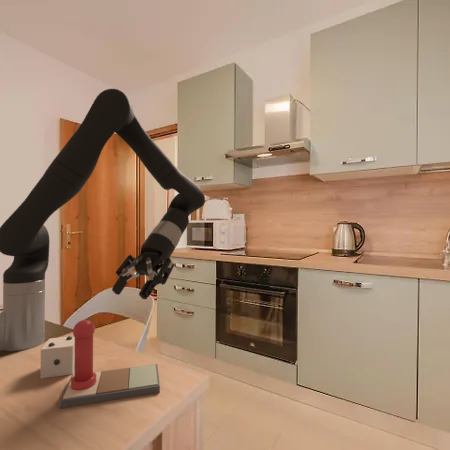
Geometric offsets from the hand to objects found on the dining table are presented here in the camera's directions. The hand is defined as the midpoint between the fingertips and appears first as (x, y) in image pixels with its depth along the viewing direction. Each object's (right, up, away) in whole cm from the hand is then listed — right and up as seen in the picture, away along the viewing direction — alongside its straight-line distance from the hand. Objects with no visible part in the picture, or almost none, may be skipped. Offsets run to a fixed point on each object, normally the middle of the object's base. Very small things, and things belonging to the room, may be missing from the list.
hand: (128, 295), depth 64 cm
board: (0, -16, -8) cm, 18 cm away
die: (-14, -16, -2) cm, 22 cm away
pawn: (-5, -15, -10) cm, 18 cm away
